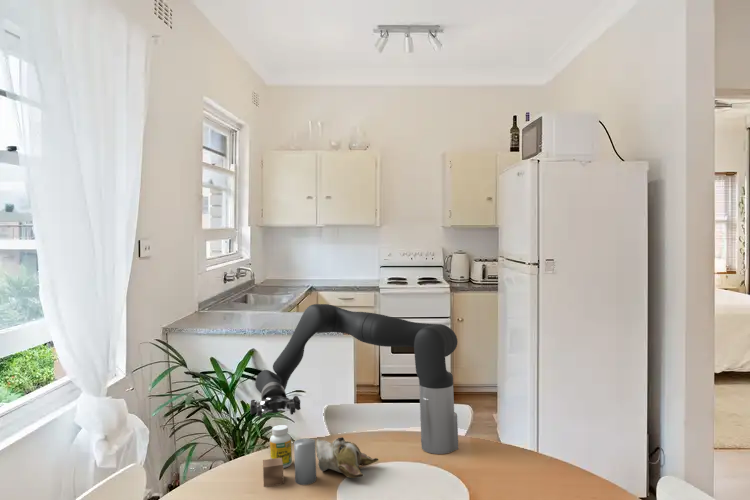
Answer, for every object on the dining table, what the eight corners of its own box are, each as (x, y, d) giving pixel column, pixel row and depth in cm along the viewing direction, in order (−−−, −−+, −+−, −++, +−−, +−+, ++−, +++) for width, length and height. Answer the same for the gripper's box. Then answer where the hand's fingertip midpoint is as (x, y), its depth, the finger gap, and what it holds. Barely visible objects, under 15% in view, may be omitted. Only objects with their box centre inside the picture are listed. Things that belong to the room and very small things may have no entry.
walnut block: (282, 476, 121) (281, 457, 121) (283, 484, 117) (283, 464, 117) (263, 478, 120) (262, 460, 120) (263, 486, 115) (263, 467, 116)
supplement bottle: (286, 458, 131) (285, 422, 131) (295, 465, 127) (294, 427, 127) (267, 464, 128) (266, 426, 128) (275, 471, 124) (274, 432, 124)
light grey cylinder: (314, 474, 121) (313, 437, 121) (317, 483, 116) (316, 444, 117) (294, 477, 120) (293, 439, 120) (296, 486, 115) (295, 447, 115)
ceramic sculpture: (326, 425, 130) (379, 435, 124) (326, 458, 130) (379, 469, 124) (306, 440, 120) (362, 451, 114) (305, 476, 120) (361, 488, 115)
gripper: (249, 386, 153) (250, 401, 137) (296, 382, 156) (302, 396, 141) (250, 411, 153) (250, 428, 137) (296, 406, 156) (302, 423, 140)
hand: (276, 412), depth 139 cm, fingers open, 8 cm apart
